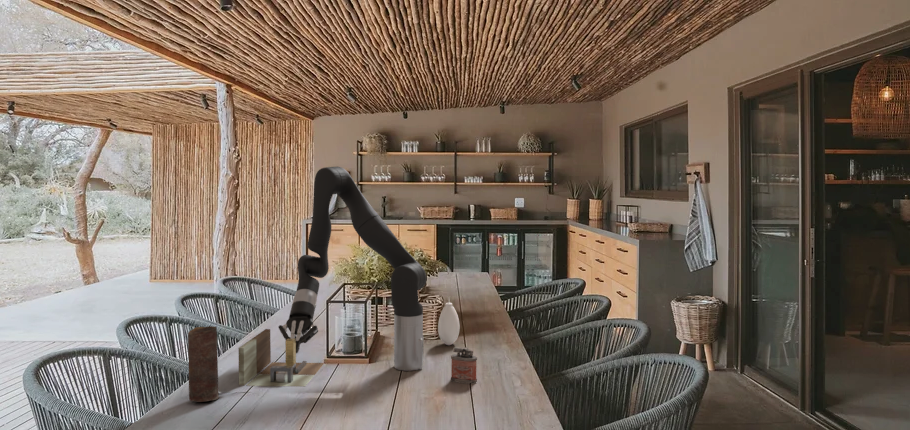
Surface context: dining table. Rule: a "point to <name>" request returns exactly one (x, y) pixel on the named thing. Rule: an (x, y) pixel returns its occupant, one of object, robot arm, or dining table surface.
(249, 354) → the door mockup
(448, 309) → the white ceramic vase
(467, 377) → the lighter
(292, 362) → the bolt
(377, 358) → the dining table surface
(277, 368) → the rails
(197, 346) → the candle
